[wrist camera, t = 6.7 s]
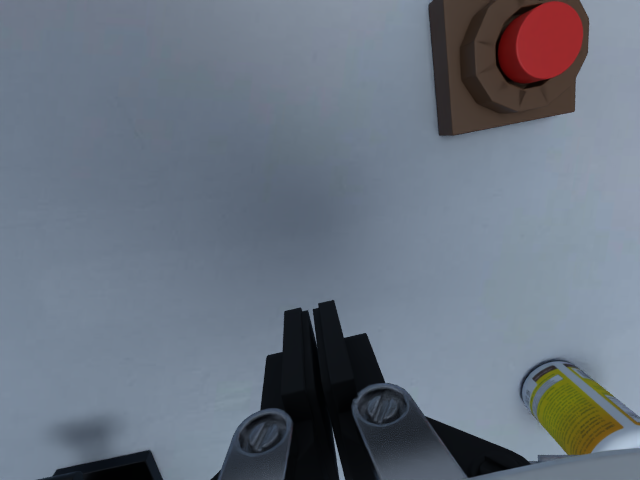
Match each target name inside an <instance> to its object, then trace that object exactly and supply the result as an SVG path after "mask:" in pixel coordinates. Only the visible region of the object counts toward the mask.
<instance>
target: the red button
mask: <svg viewBox="0 0 640 480" xmlns="http://www.w3.org/2000/svg"><path fill="white" fill-rule="evenodd" d="M582 41H583V26H582V22H581V19H580V17H579V15H578V13H577V12H576V11H575V10H574V9H573V8H572V7H571V6H570V5H568V4H566V3H563V2H559V1H551V2H546V3H543V4H541V5H539V6H537V7H535V8H533V9H531V10H530V11H528V12H526V13H524V14H522V15H520V16H518V17H517V18H515V19H514V20H513V21H512V22H511V23H510V24H509V25H508V26H507V28H506V29H505V31H504V32H503V34H502V36H501V39H500V42H499V47H498V60H499V64H500V67H501V69H502V71H503V72H504V74H505V75H506V76H507V77H508V78H509V79H511V80H512V81H514V82H517V83H524V84H526V83H532V82H537V81H541V80H546V79H550V78H553V77H556V76H558V75H560V74H562V73H563V72H564V71H566V70H567V69H568V68H569V67H570V66H571V65H572V63H573V62H574V61H575V59H576V57H577V56H578V54H579V51H580V49H581V46H582Z"/></svg>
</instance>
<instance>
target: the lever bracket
mask: <svg viewBox="0 0 640 480" xmlns="http://www.w3.org/2000/svg"><path fill="white" fill-rule="evenodd" d="M76 471H81V472H82V473H83V477H84V479H83V480H162V478H161V476H160V473H159V471H158V469H157V466H156V464H155V462H154V459H153V457H152V454H151V452H150V451H146V452H141V453H136V454H131V455H127V456H122V457H117V458H112V459H108V460H103V461H98V462H93V463H89V464H84V465H79V466H74V467H70V468H65V469H60V470H57V471H56V472H55V473H54V475H53V476H57V475H62V474H66V473H71V472H76Z"/></svg>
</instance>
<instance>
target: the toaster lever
mask: <svg viewBox="0 0 640 480" xmlns="http://www.w3.org/2000/svg"><path fill="white" fill-rule="evenodd" d="M83 479H84V477H83V473H82V472H81V471H76V472H71V473H66V474H62V475H57V476H52V477H47V478H43V479H38V480H83Z"/></svg>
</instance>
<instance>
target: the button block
mask: <svg viewBox="0 0 640 480" xmlns="http://www.w3.org/2000/svg"><path fill="white" fill-rule="evenodd" d="M551 1H559V2H563V3H566V4H568V5H570V6H571V7H572V8H573V9H574V10H575V11H576V12H577V13H578V15H579V17H580V19H581V22H582V26H583V41H582V46H581V49H580V51H579V54H578V56H577V57H576V59H575V61H574V62H573V63H572V65H571V66H570V67H569V68H568V69H567V70H566V71H564V72H563V73H562V74H560V75H558V76H556V77H553V78H550V79H546V80H541V81H537V82H532V83H526V84H524V83H517V82H514V81H512V80H511V79H509V78H508V77H507V76H506V75H505V74H504V72H503V71H502V69H501V67H500V64H499V60H498V47H499V42H500V39H501V36H502V34H503V32H504V31H505V29H506V28H507V26H508V25H509V24H510V23H511V22H512V21H513V20H514V19H515V18H517V17H518V16H520V15H522V14H524V13H526V12H528V11H530V10H531V9H533V8H535V7H537V6H539V5H541V4H543V3H546V2H551ZM429 15H430V27H431V39H432V51H433V64H434V76H435V88H436V100H437V112H438V124H439V135H440V136H452V135H459V134H464V133H469V132H474V131H479V130H484V129H489V128H494V127H499V126H504V125H510V124H515V123H520V122H525V121H530V120H535V119H540V118H545V117H550V116H555V115H560V114H566V113H571V112H574V111H575V83H576V76H577V74H578V72H579V70H580V68H581V66H582V64H583V62H584V60H585V58H586V56H587V53H588V36H589V18H588V16H587V14H586V12H585V10H584V8H583V6H582V4H581V2H580V0H433V1H432V2H431V3H430V4H429Z"/></svg>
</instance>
